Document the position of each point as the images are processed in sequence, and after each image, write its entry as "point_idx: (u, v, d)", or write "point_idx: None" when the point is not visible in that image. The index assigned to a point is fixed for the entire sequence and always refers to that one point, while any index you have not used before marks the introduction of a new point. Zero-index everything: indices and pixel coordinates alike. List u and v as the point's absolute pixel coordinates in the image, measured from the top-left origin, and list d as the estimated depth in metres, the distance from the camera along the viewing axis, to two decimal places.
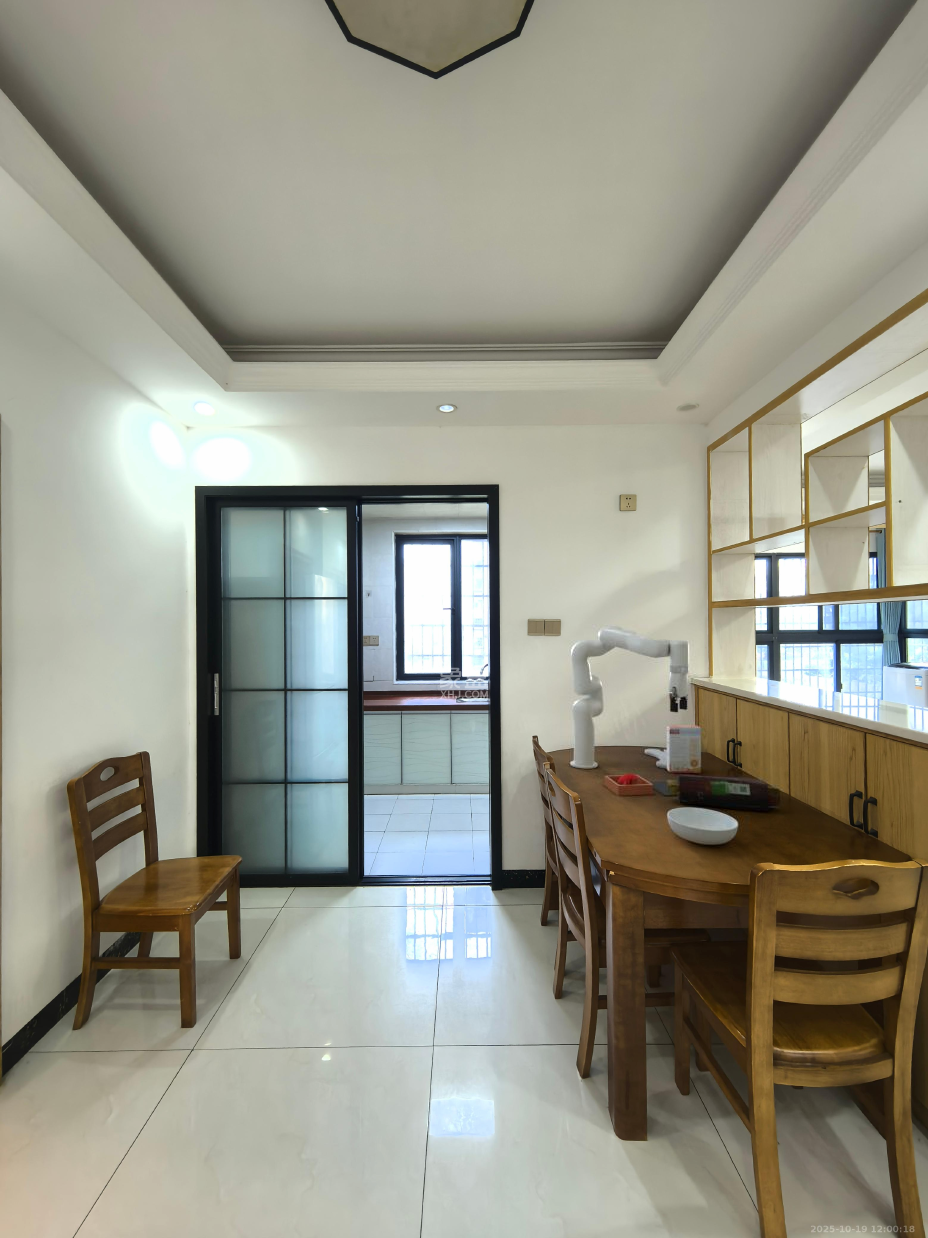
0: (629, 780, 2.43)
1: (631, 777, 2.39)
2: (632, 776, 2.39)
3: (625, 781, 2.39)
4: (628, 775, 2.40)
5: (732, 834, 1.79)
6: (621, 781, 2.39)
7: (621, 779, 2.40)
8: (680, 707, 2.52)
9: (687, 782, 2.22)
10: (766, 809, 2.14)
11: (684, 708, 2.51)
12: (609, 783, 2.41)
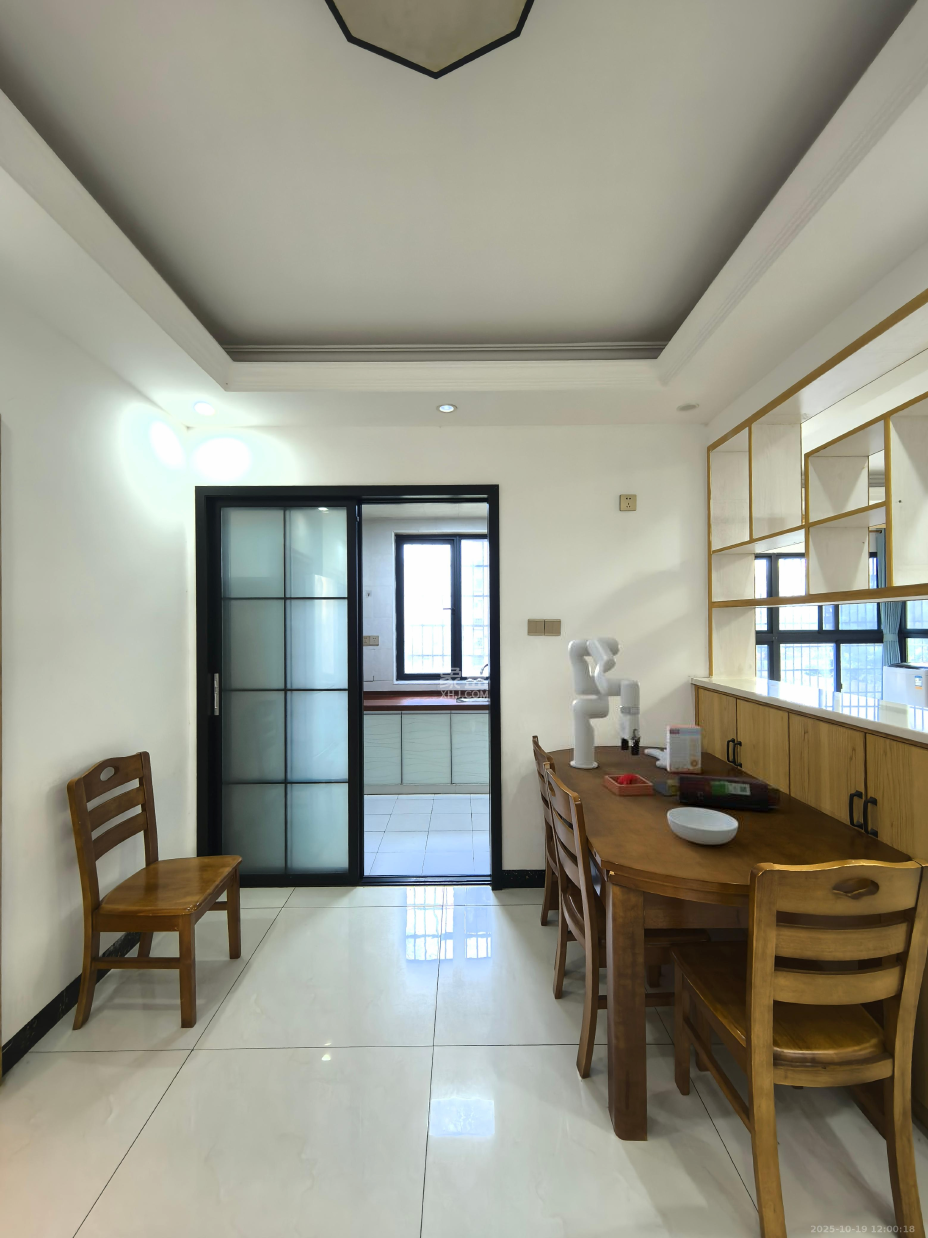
0: (629, 780, 2.43)
1: (631, 777, 2.39)
2: (632, 776, 2.39)
3: (625, 781, 2.39)
4: (628, 775, 2.40)
5: (732, 834, 1.79)
6: (621, 781, 2.39)
7: (621, 779, 2.40)
8: (622, 748, 2.45)
9: (687, 782, 2.22)
10: (766, 809, 2.14)
11: (626, 749, 2.45)
12: (609, 783, 2.41)
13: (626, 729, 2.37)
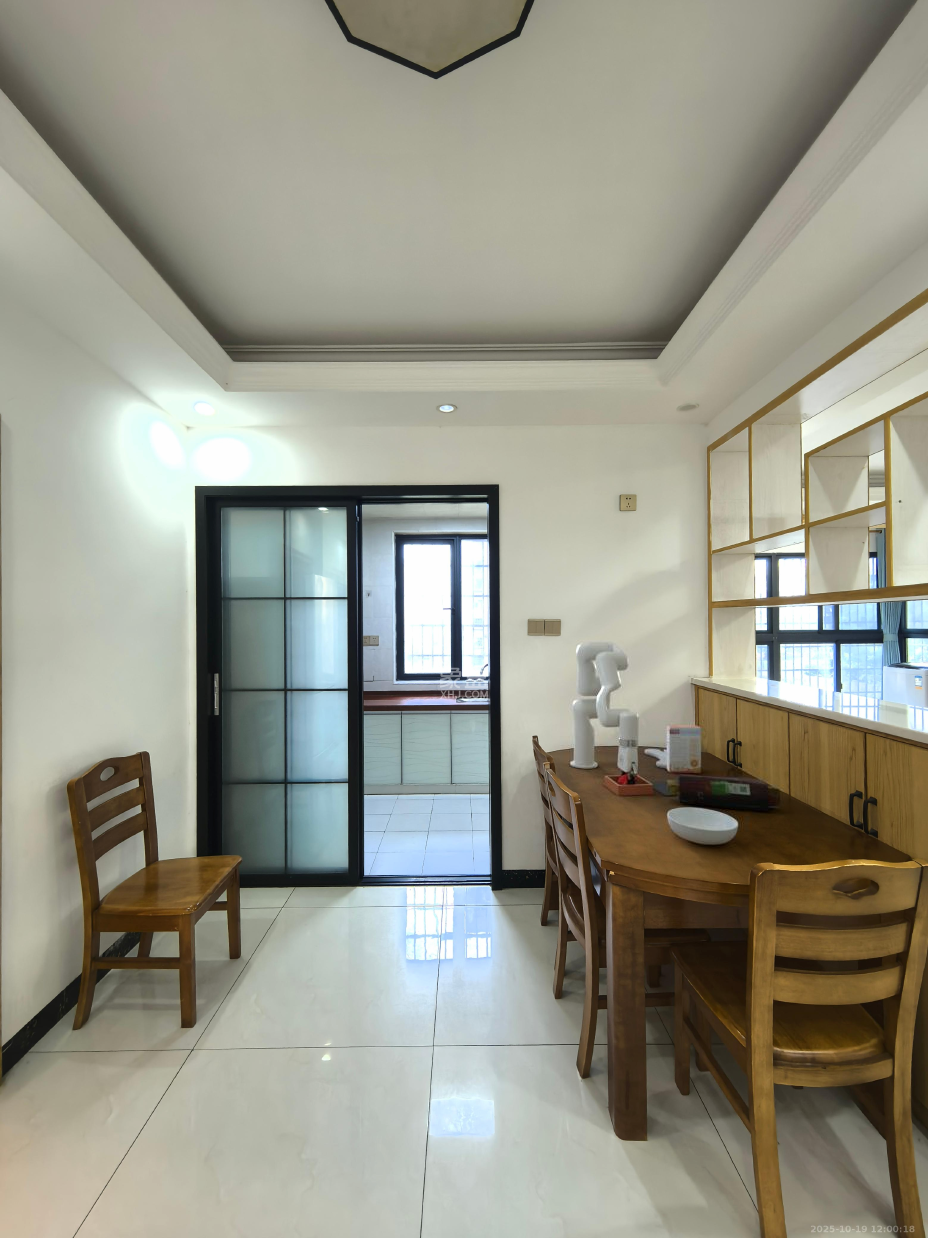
0: None
1: None
2: None
3: (625, 781, 2.39)
4: None
5: (732, 834, 1.79)
6: (621, 781, 2.39)
7: (621, 779, 2.40)
8: None
9: (687, 782, 2.22)
10: (766, 809, 2.14)
11: None
12: (609, 783, 2.41)
13: (624, 762, 2.38)
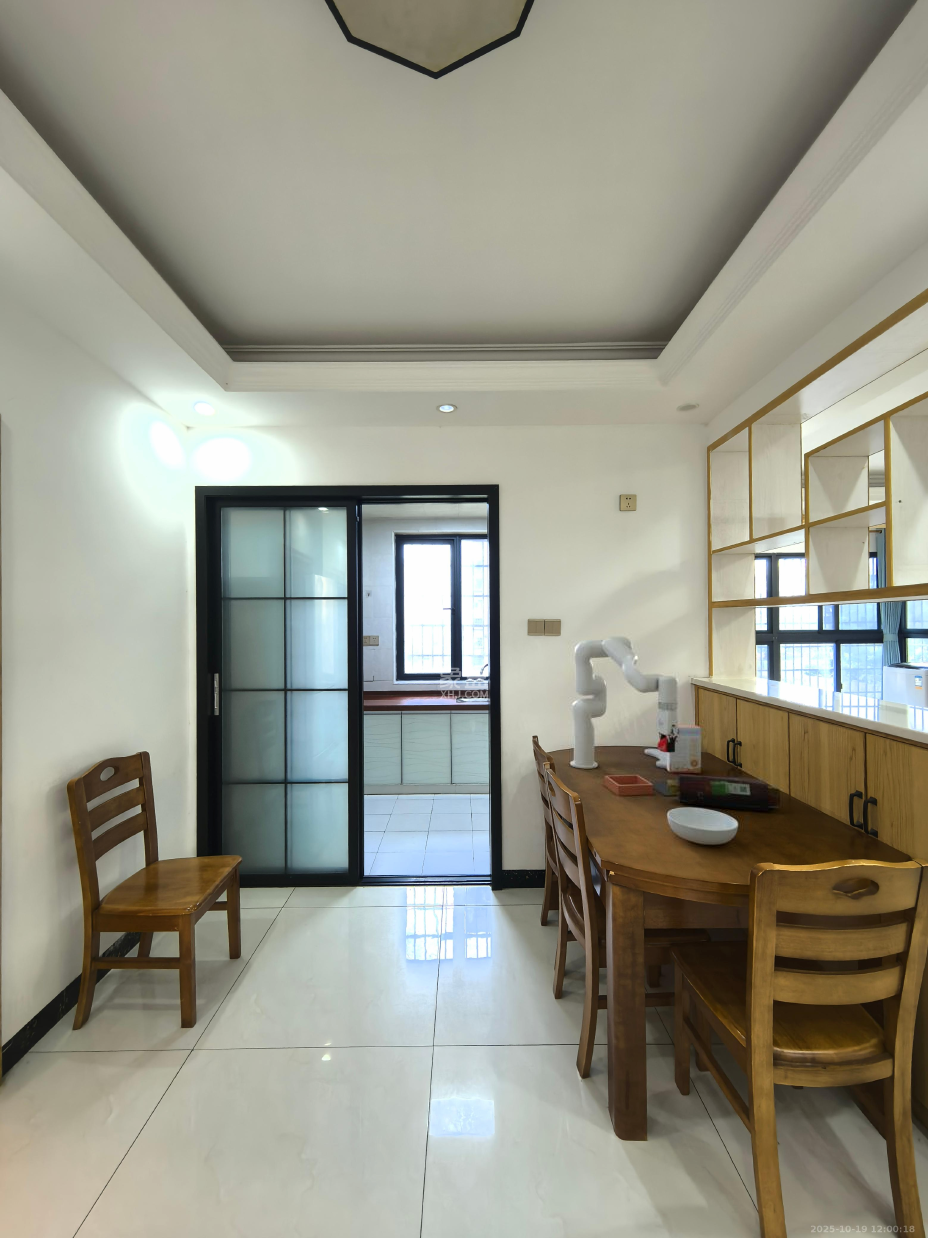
0: None
1: None
2: None
3: (664, 745, 2.39)
4: (667, 738, 2.41)
5: (732, 834, 1.79)
6: (661, 744, 2.40)
7: (661, 742, 2.41)
8: None
9: (687, 782, 2.22)
10: (766, 809, 2.14)
11: None
12: (609, 783, 2.41)
13: (664, 725, 2.39)
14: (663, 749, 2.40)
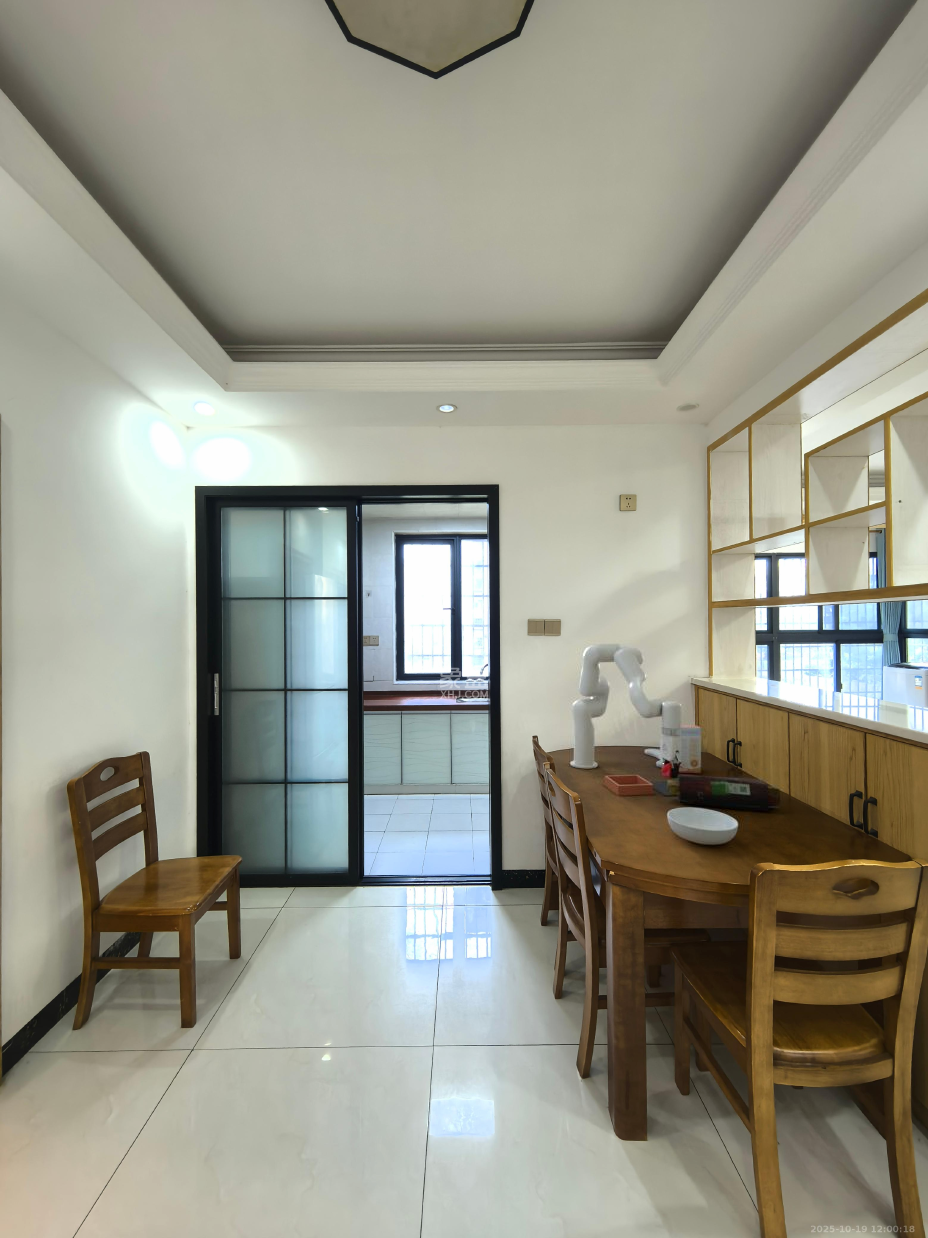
0: None
1: None
2: None
3: (668, 770, 2.40)
4: (671, 764, 2.41)
5: (732, 834, 1.79)
6: (664, 770, 2.41)
7: (664, 768, 2.41)
8: None
9: (687, 782, 2.22)
10: (766, 809, 2.14)
11: None
12: (609, 783, 2.41)
13: (668, 750, 2.39)
14: (667, 775, 2.40)
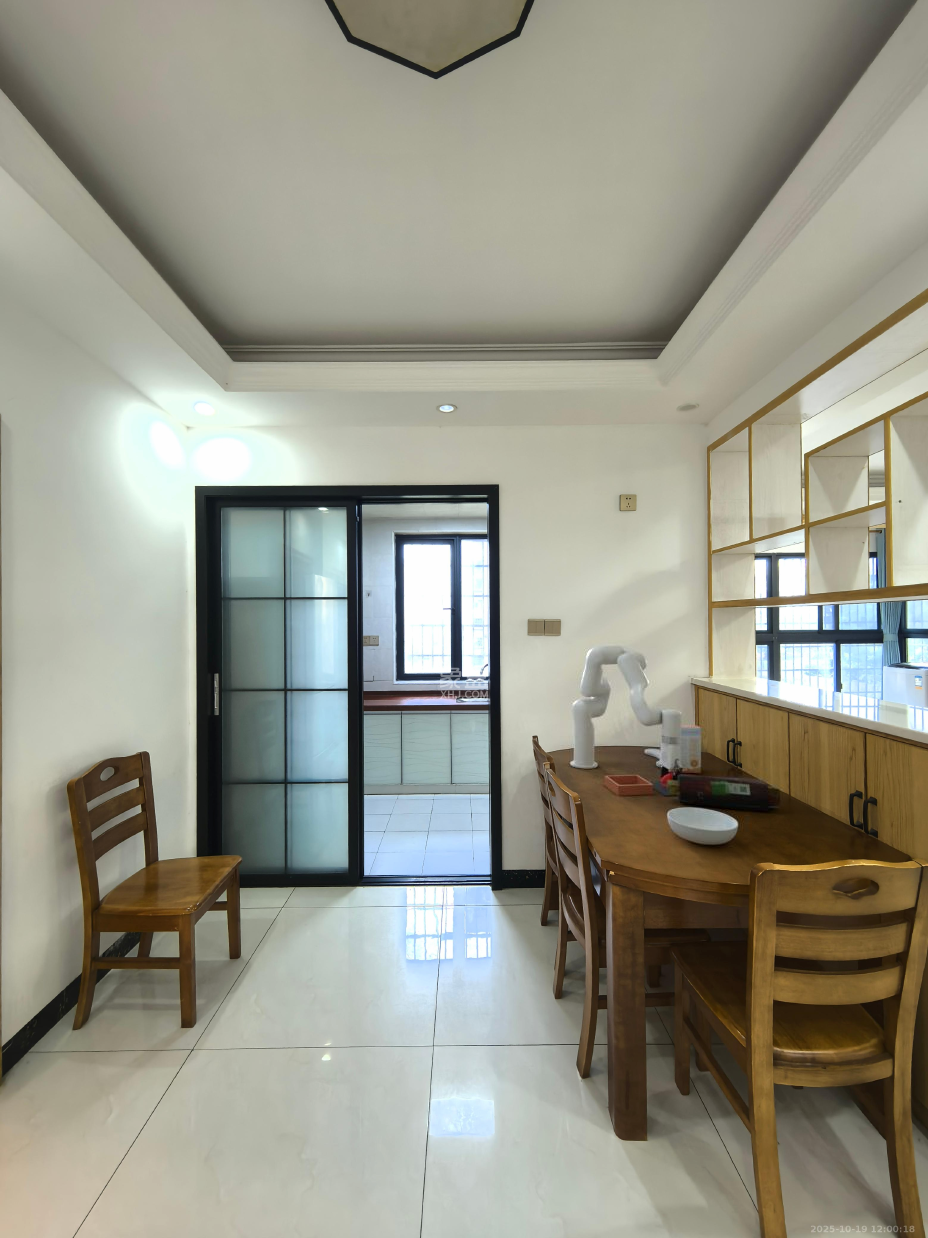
0: None
1: None
2: None
3: None
4: (671, 775, 2.41)
5: (732, 834, 1.79)
6: (664, 781, 2.41)
7: (664, 779, 2.41)
8: (662, 776, 2.47)
9: (687, 782, 2.22)
10: (766, 809, 2.14)
11: None
12: (609, 783, 2.41)
13: (667, 759, 2.39)
14: None
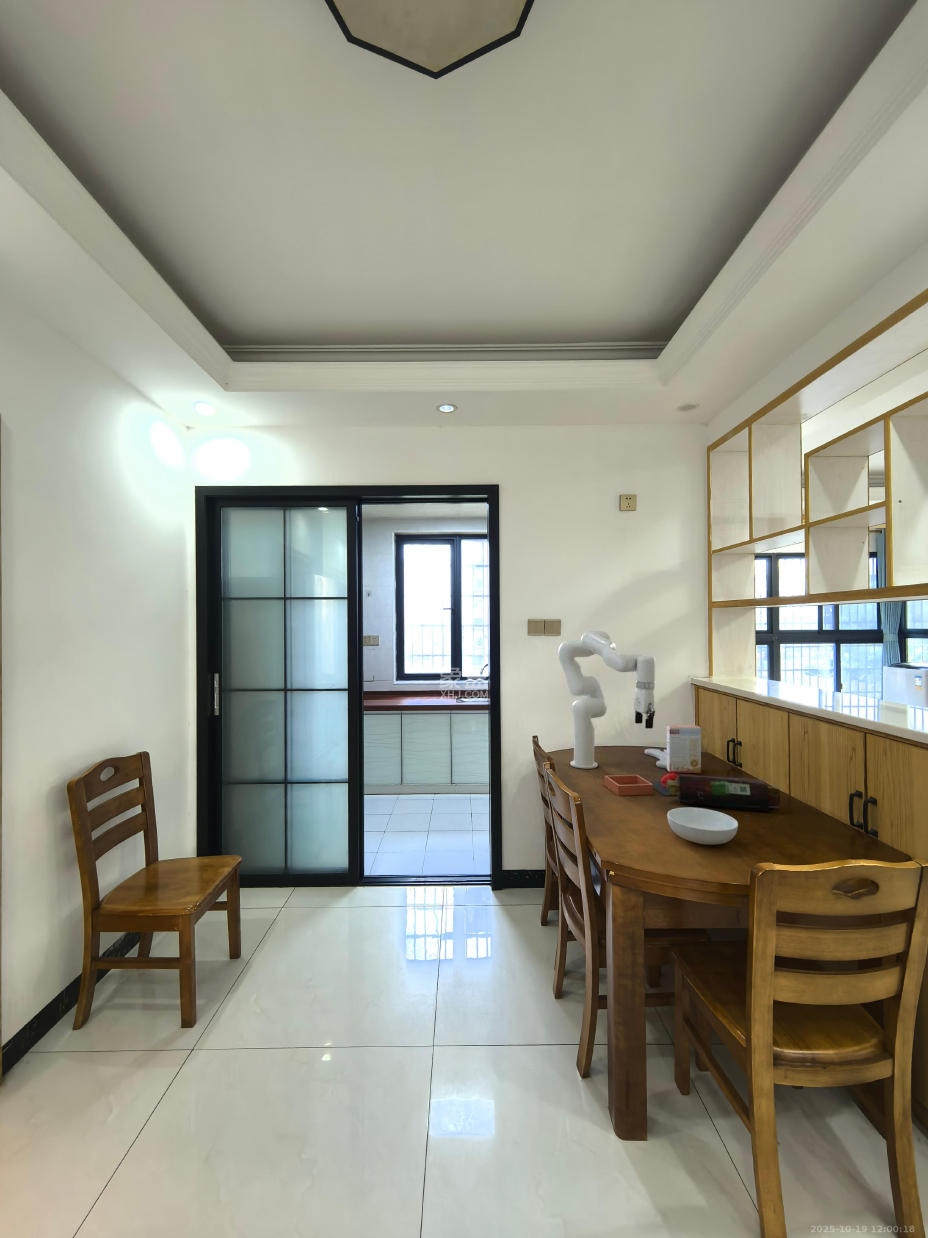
0: None
1: (674, 777, 2.40)
2: (675, 776, 2.41)
3: None
4: (671, 775, 2.41)
5: (732, 834, 1.79)
6: (664, 781, 2.41)
7: (664, 779, 2.41)
8: (636, 721, 2.54)
9: (687, 782, 2.22)
10: (766, 809, 2.14)
11: (640, 722, 2.54)
12: (609, 783, 2.41)
13: (641, 703, 2.46)
14: None
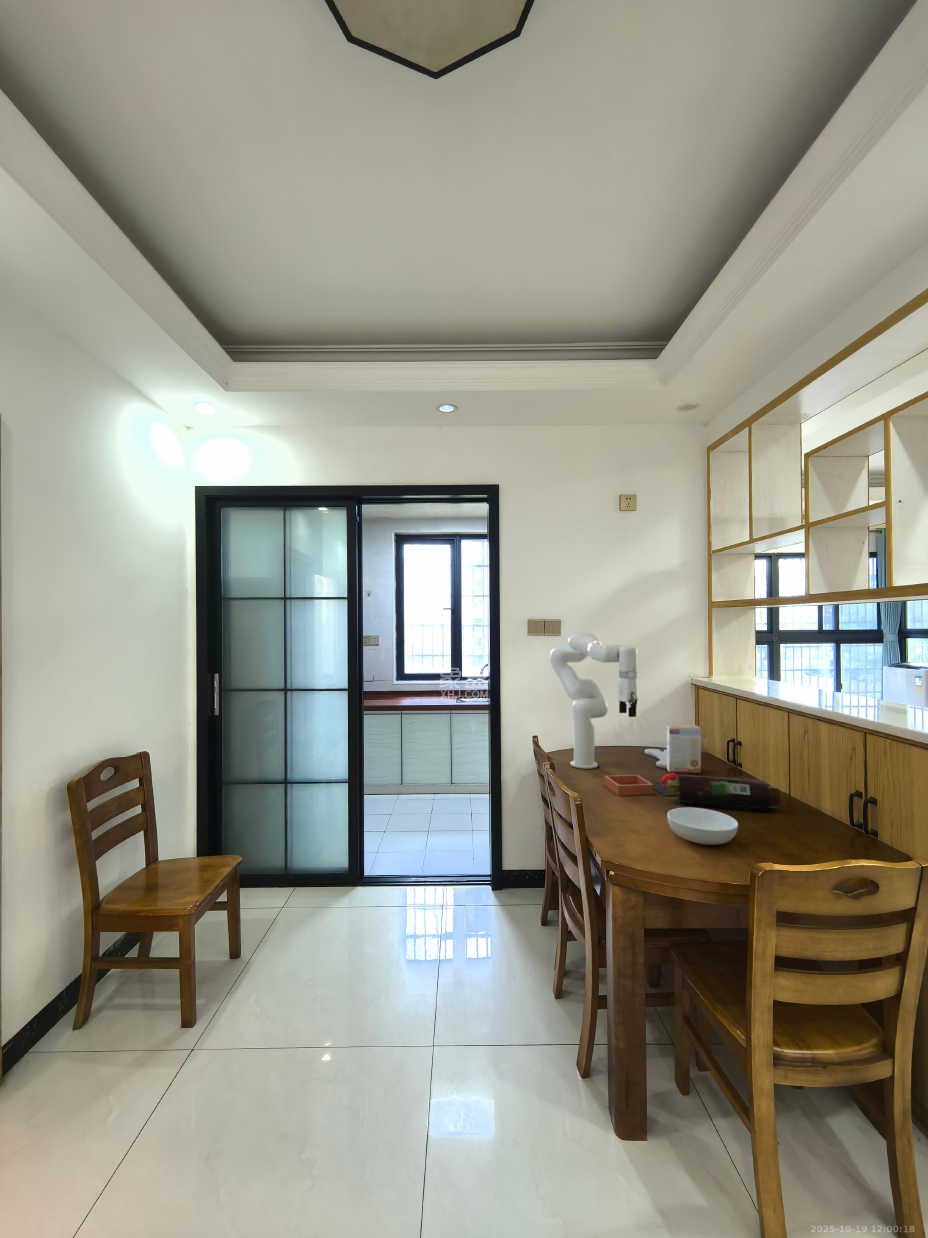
0: None
1: (674, 777, 2.40)
2: (675, 776, 2.41)
3: None
4: (671, 775, 2.41)
5: (732, 834, 1.79)
6: (664, 781, 2.41)
7: (664, 779, 2.41)
8: (620, 711, 2.58)
9: (687, 782, 2.22)
10: (766, 809, 2.14)
11: (624, 711, 2.59)
12: (609, 783, 2.41)
13: (624, 692, 2.51)
14: None
